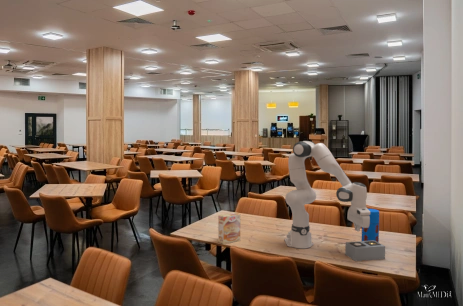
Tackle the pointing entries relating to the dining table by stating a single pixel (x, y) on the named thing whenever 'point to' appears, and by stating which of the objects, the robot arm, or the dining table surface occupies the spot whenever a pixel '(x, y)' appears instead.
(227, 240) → the coffeecake box
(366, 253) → the socket block
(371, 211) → the thermos
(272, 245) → the dining table surface
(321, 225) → the dining table surface
